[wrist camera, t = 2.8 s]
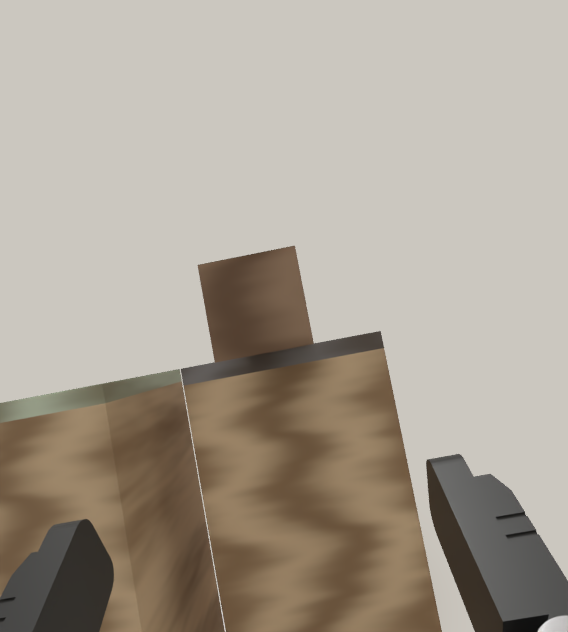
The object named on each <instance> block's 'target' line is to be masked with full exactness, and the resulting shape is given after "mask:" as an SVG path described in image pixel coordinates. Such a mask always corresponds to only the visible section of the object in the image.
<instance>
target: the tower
mask: <svg viewBox="0 0 568 632" xmlns="http://www.w3.org/2000/svg"><path fill="white" fill-rule="evenodd" d="M83 519H88V520H89V521H90V522H91V523H92V524H93V526H94V528H95V530H96V532H97V534H98V535H99V537H100V539H101V541H102V543H103V545H104V547H105V548H106V550H107V552H108V554H109V556H110V558H111V560H112V563H113V568H114V582H113V588H112V591H111V595H110V598H109V601H108V605H107V608H106V611H105V615H104V618H103V621H102V625H101V628H100V631H99V632H225V631H224V625H223V619H222V614H221V608H220V602H219V596H218V590H217V585H216V579H215V573H214V567H213V562H212V556H211V550H210V544H209V538H208V533H207V527H206V522H205V515H204V509H203V503H202V497H201V492H200V486H199V480H198V474H197V468H196V462H195V457H194V451H193V445H192V440H191V433H190V428H189V422H188V416H187V410H186V405H185V399H184V393H183V387H182V382H181V375H180V370H179V369H178V370H173V371H167V372H162V373H157V374H151V375H146V376H141V377H136V378H130V379H125V380H120V381H114V382H109V383H104V384H99V385H94V386H88V387H83V388H78V389H72V390H67V391H62V392H56V393H51V394H46V395H41V396H35V397H30V398H25V399H20V400H14V401H9V402H4V403H0V597H1V595H2V593H3V591H4V589H5V587H6V585H7V583H8V581H9V579H10V577H11V576H12V574H13V573H14V572H15V571H16V570H17V568H18V567H19V566H20V565H21V564H22V563H23V562H24V560H25V559H26V558H27V557H28V556H29V555H30V553H33V552H38V550H39V548H40V546H41V544H42V542H43V540H44V538H45V536H46V534H47V532H48V530H49V529H50V528H51V527H52V526H53V525H55V524H60V523H66V522H71V521H77V520H83Z"/></svg>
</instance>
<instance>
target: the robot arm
mask: <svg viewBox="0 0 568 632" xmlns="http://www.w3.org/2000/svg"><path fill="white" fill-rule="evenodd" d="M426 466H427V479H428V492H429V504H430V511H431V516H432V520H433V524H434V527H435V530H436V533H437V536H438V539H439V541H440V544H441V546H442V549H443V551H444V554H445V556H446V559H447V562H448V564H449V567H450V569H451V572H452V574H453V577H454V579H455V582H456V584H457V587H458V590H459V592H460V595H461V597H462V600H463V602H464V605H465V607H466V610H467V612H468V615H469V618H470V620H471V623H472V625H473V628H474V630H475V632H568V581H567V579H566V577H565V576H564V574H563V573H562V571H561V569H560V568H559V566H558V565H557V563H556V561H555V560H554V558H553V557H552V555H551V553H550V552H549V550H548V548H547V547H546V545H545V544H544V542H543V540H542V539H541V537H540V536H539V535H538V534H537V532H536V529H535V528H534V526H533V524H532V523H531V521H530V520H529V518H528V517H527V516H526V515H525V511H524V510H523V508H522V507H521V505H520V503H519V502H518V500H517V499H516V497H515V495H514V494H513V492H512V491H511V490H510V489H509V488H508V487H506V486H505V485H504V484H503V483H501V482H500V481H499V480H498V479H496V478H495V477H494V476H492V475H491V474H487V475H481V476H476V477H473V475H472V473H471V471H470V469H469V467H468V466H467V464H466V462H465V460H464V459H463V457H462V456H461V455H460V454H456V455H451V456H445V457H440V458H435V459H429V460H427V462H426ZM113 582H114V568H113V563H112V560H111V558H110V556H109V554H108V552H107V550H106V548H105V547H104V545H103V543H102V541H101V539H100V537H99V535H98V534H97V532H96V530H95V528H94V526H93V524H92V523H91V522H90V521H89V520H88V519H83V520H77V521H71V522H66V523H60V524H55V525H53V526H52V527H51V528H50V529H49V530H48V532H47V534H46V536H45V538H44V540H43V542H42V544H41V546H40V548H39V550H38V552H33V553H30V555H29V556H28V557H27V558H26V559H25V560H24V562H23V563H22V564H21V565H20V566H19V567H18V568H17V570H16V571H15V572H14V573H13V574H12V576H11V577H10V579H9V581H8V583H7V585H6V587H5V589H4V591H3V593H2V595H1V597H0V632H99V631H100V628H101V625H102V621H103V618H104V615H105V611H106V608H107V605H108V601H109V598H110V595H111V591H112V588H113Z"/></svg>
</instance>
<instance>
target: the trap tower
mask: <svg viewBox="0 0 568 632" xmlns="http://www.w3.org/2000/svg"><path fill="white" fill-rule="evenodd" d="M181 373H182V379H183V384H184V390H185V396H186V402H187V407H188V413H189V419H190V425H191V430H192V437H193V442H194V448H195V454H196V460H197V466H198V471H199V477H200V483H201V489H202V494H203V500H204V506H205V512H206V518H207V524H208V530H209V535H210V541H211V547H212V552H213V558H214V564H215V570H216V576H217V582H218V587H219V593H220V599H221V605H222V611H223V617H224V622H225V628H226V632H442V630H441V626H440V621H439V616H438V611H437V606H436V601H435V596H434V591H433V587H432V581H431V576H430V571H429V567H428V562H427V557H426V552H425V547H424V542H423V537H422V532H421V527H420V522H419V518H418V513H417V508H416V503H415V498H414V494H413V488H412V483H411V478H410V473H409V469H408V464H407V459H406V454H405V449H404V444H403V439H402V434H401V429H400V424H399V419H398V414H397V410H396V405H395V400H394V395H393V390H392V385H391V380H390V375H389V370H388V365H387V361H386V356H385V351H384V346H383V341H382V336H381V332H380V331H379V332H374V333H368V334H363V335H357V336H352V337H347V338H342V339H336V340H331V341H326V342H320V343H315V344H311V345H305V346H300V347H295V348H290V349H284V350H279V351H274V352H268V353H263V354H258V355H253V356H247V357H242V358H237V359H232V360H226V361H221V362H216V363H210V364H204V365H199V366H194V367H189V368H183V369H181Z"/></svg>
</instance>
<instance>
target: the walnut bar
mask: <svg viewBox="0 0 568 632" xmlns="http://www.w3.org/2000/svg"><path fill="white" fill-rule="evenodd" d="M198 269H199V275H200V281H201V287H202V292H203V298H204V303H205V309H206V315H207V320H208V326H209V332H210V337H211V343H212V348H213V354H214V360H215V363H216V362H221V361H226V360H232V359H237V358H242V357H247V356H253V355H258V354H263V353H268V352H274V351H279V350H284V349H290V348H295V347H300V346H305V345H311V344H314V343H313V338H312V333H311V327H310V322H309V317H308V312H307V307H306V301H305V296H304V291H303V286H302V281H301V276H300V271H299V265H298V260H297V255H296V250H295V246H291V247H286V248H281V249H276V250H271V251H266V252H261V253H256V254H251V255H246V256H241V257H236V258H231V259H226V260H221V261H215V262H210V263H205V264H200V265H198Z"/></svg>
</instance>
